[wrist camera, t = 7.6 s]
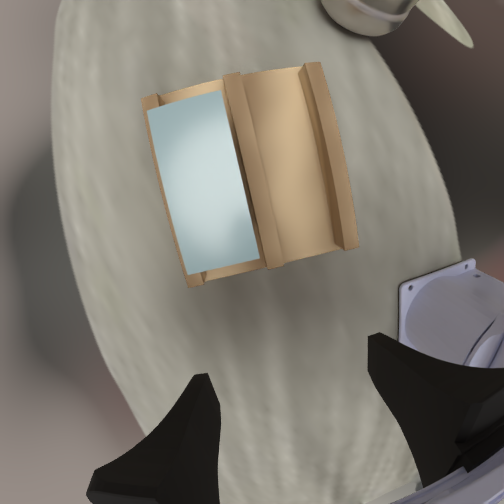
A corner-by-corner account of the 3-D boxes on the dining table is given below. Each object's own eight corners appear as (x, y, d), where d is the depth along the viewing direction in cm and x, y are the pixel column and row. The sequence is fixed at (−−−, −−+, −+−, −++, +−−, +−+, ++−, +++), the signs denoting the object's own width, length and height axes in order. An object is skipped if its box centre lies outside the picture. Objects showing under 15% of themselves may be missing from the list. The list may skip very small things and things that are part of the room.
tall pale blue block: (225, 121, 17) (220, 90, 10) (250, 228, 19) (259, 258, 12) (178, 134, 17) (146, 110, 10) (203, 239, 19) (187, 274, 12)
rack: (313, 70, 17) (325, 54, 14) (349, 242, 21) (366, 252, 18) (146, 105, 17) (132, 94, 14) (189, 280, 20) (183, 296, 18)
